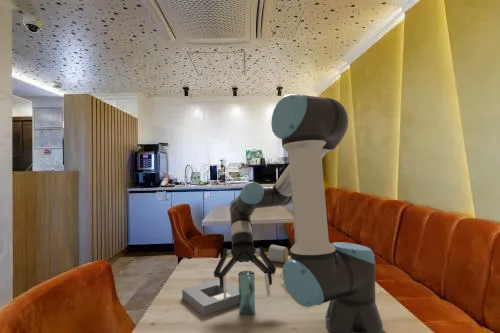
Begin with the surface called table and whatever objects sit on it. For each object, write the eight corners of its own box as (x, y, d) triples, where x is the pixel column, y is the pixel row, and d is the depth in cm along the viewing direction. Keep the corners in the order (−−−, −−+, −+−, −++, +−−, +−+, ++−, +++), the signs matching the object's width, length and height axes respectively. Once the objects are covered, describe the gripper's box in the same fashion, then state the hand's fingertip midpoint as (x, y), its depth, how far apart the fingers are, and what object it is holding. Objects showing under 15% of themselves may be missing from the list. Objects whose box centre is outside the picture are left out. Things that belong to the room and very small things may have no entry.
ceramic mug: (284, 265, 136) (284, 248, 136) (267, 263, 139) (267, 246, 139) (290, 258, 146) (290, 242, 146) (274, 256, 149) (274, 241, 149)
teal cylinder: (258, 312, 93) (257, 273, 93) (245, 317, 90) (244, 277, 90) (248, 306, 97) (248, 269, 97) (236, 310, 94) (235, 273, 94)
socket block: (246, 301, 100) (246, 291, 100) (203, 316, 91) (203, 305, 91) (221, 286, 113) (221, 278, 113) (182, 297, 104) (182, 289, 104)
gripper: (274, 240, 110) (284, 298, 96) (207, 243, 108) (206, 304, 93) (277, 229, 105) (288, 289, 90) (206, 232, 102) (205, 294, 87)
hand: (247, 296), depth 91 cm, fingers open, 13 cm apart
